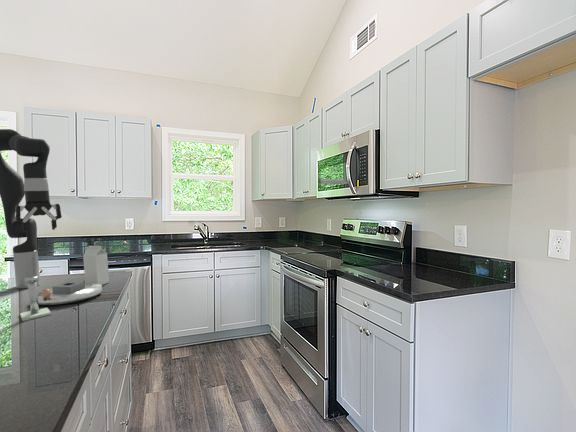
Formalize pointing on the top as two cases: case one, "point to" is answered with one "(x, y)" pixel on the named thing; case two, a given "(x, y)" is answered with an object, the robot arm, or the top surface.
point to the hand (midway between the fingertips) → (40, 230)
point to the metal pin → (33, 293)
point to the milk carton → (96, 265)
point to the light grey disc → (68, 293)
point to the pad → (31, 316)
